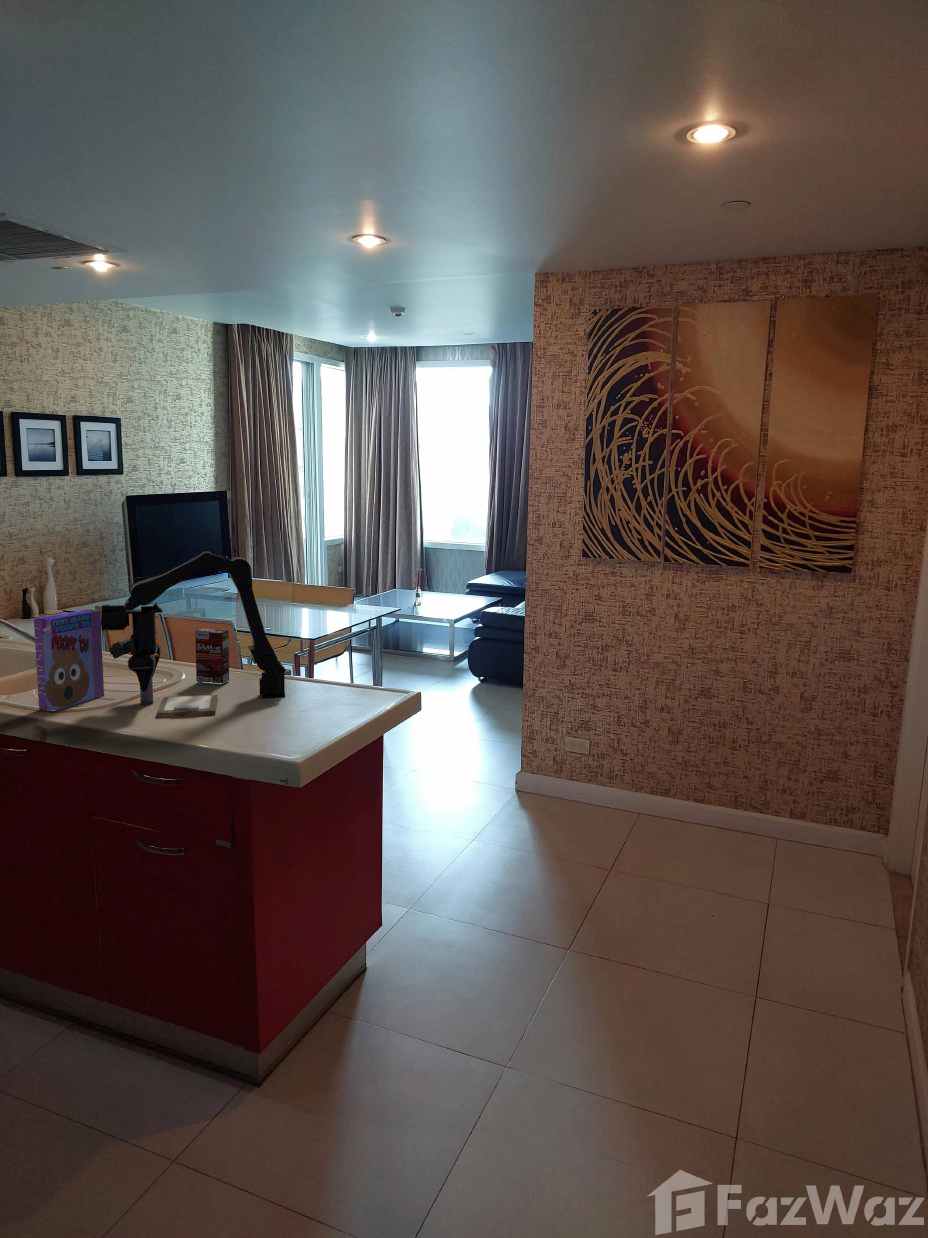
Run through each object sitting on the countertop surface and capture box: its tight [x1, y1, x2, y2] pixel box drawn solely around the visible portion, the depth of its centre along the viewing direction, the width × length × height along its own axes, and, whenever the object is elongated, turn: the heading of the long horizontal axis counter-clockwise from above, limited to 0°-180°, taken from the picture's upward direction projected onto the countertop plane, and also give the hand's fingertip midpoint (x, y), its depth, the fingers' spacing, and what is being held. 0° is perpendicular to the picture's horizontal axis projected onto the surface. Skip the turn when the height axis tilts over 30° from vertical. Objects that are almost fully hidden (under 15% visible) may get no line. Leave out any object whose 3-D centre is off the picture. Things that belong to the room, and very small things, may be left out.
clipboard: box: [156, 694, 218, 718], centre depth 212 cm, size 14×16×2 cm
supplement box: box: [194, 628, 230, 684], centre depth 238 cm, size 9×5×16 cm, turn 80°
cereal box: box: [33, 608, 105, 711], centre depth 212 cm, size 17×5×24 cm, turn 162°
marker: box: [139, 677, 154, 706], centre depth 214 cm, size 3×3×12 cm
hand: (146, 687), depth 214 cm, fingers open, 9 cm apart
